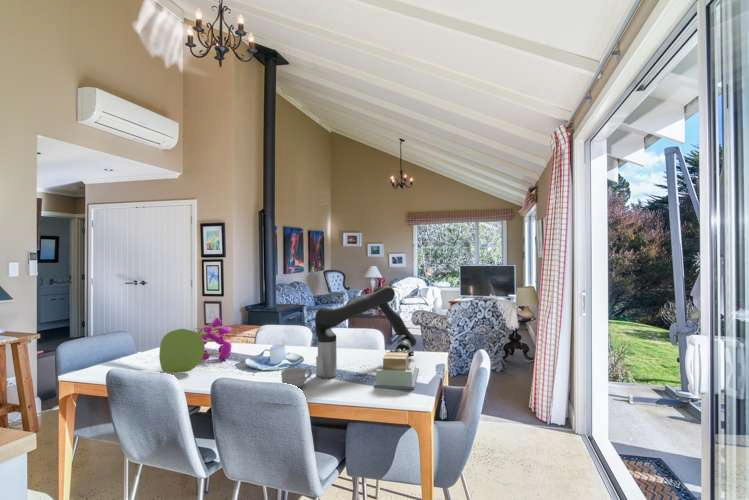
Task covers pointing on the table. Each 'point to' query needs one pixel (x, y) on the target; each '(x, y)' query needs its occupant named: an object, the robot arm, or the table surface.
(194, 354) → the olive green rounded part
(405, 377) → the roller track
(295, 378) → the teacup
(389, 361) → the wood grain cube
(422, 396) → the table surface
